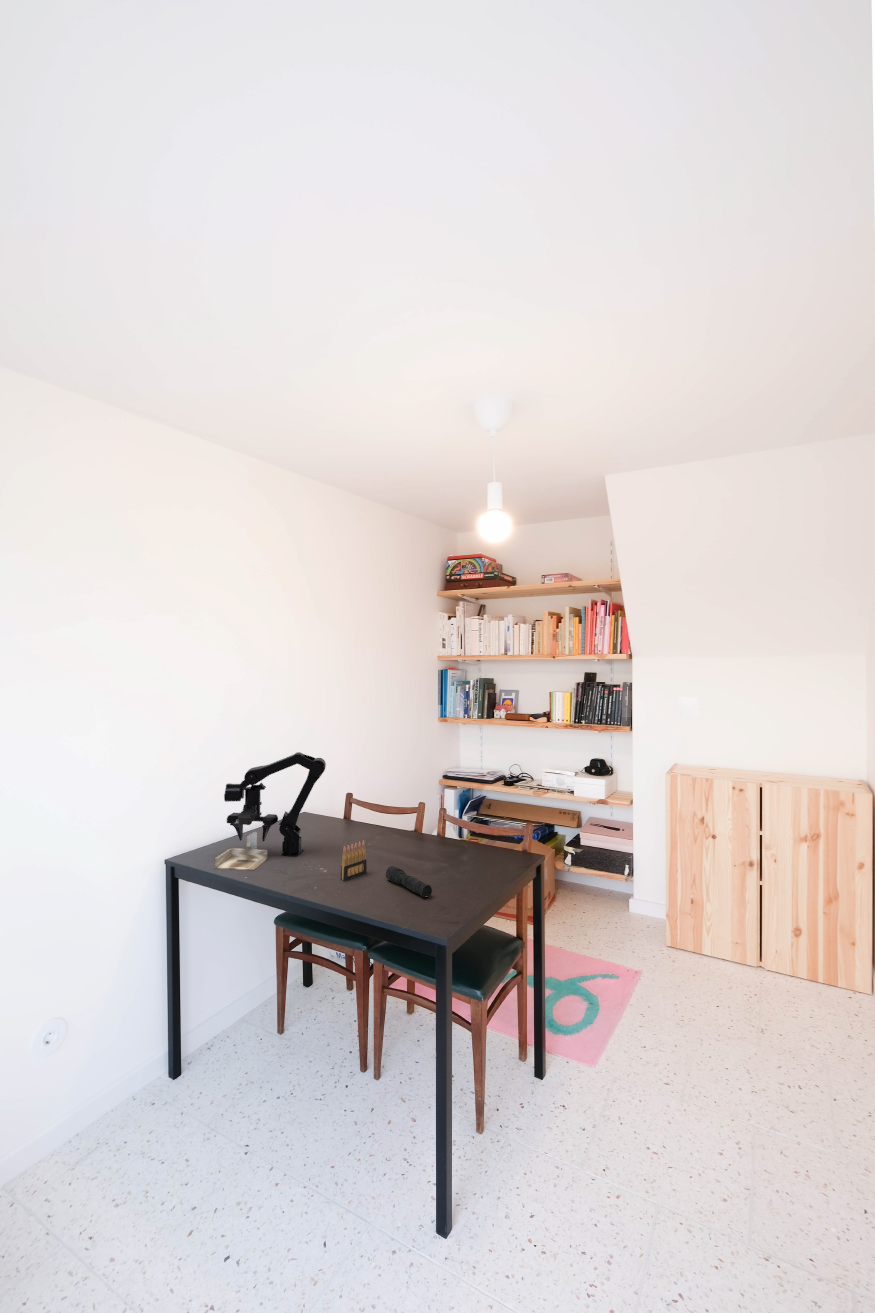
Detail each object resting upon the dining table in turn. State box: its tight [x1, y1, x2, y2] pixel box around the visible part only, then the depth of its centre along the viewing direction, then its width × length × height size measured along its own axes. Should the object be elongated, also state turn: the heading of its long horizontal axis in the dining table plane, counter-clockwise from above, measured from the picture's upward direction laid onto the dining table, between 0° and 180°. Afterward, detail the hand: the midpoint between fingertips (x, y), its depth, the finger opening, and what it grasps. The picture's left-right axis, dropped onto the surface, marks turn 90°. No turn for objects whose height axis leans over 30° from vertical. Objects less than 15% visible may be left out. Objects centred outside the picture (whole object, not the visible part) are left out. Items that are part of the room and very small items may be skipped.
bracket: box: [246, 831, 258, 850], centre depth 229 cm, size 6×6×8 cm
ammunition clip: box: [340, 839, 368, 882], centre depth 208 cm, size 11×2×12 cm, turn 139°
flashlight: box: [385, 865, 433, 898], centre depth 198 cm, size 5×21×5 cm, turn 39°
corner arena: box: [214, 847, 268, 871], centre depth 219 cm, size 15×12×4 cm
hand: (252, 840), depth 229 cm, fingers open, 9 cm apart
